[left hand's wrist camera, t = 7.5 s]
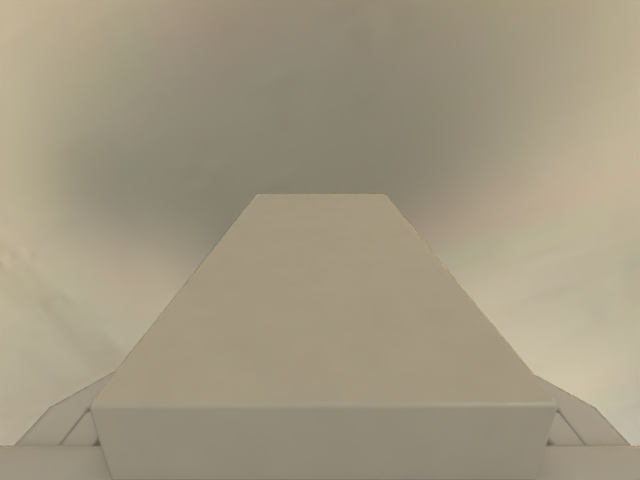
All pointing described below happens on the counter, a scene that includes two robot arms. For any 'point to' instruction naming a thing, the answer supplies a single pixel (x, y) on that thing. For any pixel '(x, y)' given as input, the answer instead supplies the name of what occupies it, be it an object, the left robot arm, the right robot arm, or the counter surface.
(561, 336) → the counter surface
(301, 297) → the box
